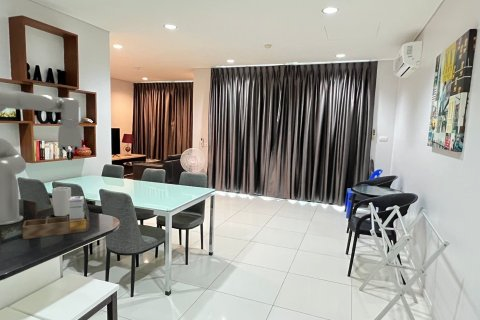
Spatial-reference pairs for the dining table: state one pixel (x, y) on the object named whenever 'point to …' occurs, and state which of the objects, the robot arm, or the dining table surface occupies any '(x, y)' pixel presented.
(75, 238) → the dining table surface
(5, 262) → the dining table surface
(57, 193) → the cup
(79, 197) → the syrup box
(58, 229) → the rack
